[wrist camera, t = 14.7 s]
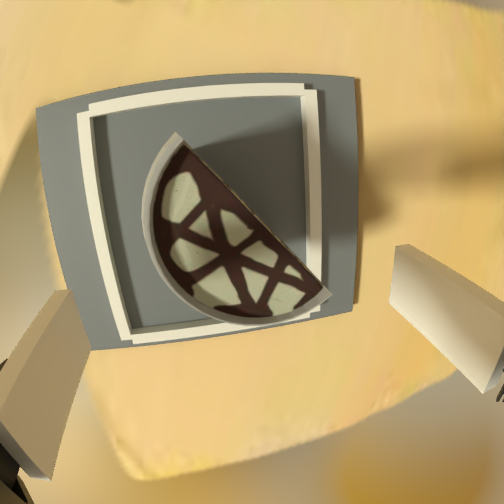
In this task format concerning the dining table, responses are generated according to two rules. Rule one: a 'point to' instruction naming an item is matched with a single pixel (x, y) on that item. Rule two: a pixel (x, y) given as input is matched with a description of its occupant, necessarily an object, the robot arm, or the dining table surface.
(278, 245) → the food container
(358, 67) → the dining table surface
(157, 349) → the dining table surface
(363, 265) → the dining table surface
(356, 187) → the dock board
